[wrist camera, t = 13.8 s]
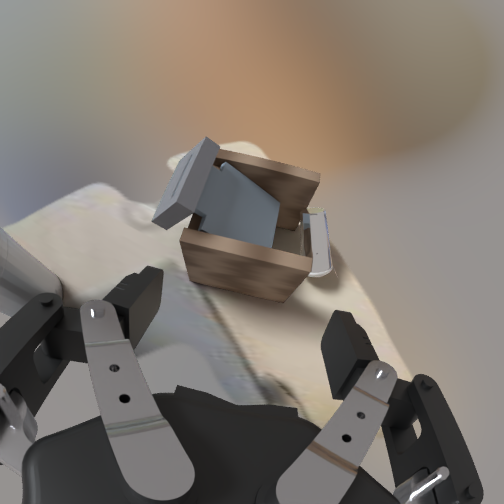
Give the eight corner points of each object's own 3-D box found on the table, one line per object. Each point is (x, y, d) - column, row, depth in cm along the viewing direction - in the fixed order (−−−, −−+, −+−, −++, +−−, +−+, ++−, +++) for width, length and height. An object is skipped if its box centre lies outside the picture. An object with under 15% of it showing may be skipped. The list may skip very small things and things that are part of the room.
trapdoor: (150, 222, 28) (175, 203, 24) (180, 159, 32) (206, 135, 28) (243, 273, 35) (278, 265, 31) (257, 212, 39) (289, 199, 35)
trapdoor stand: (189, 280, 37) (179, 240, 26) (214, 203, 43) (215, 148, 32) (283, 302, 37) (310, 272, 26) (296, 222, 43) (320, 173, 32)
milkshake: (333, 204, 37) (336, 270, 40) (295, 207, 37) (300, 273, 41) (338, 212, 32) (340, 285, 36) (295, 216, 33) (301, 288, 37)
